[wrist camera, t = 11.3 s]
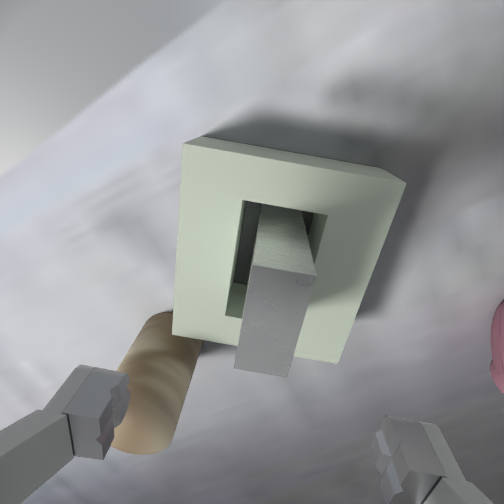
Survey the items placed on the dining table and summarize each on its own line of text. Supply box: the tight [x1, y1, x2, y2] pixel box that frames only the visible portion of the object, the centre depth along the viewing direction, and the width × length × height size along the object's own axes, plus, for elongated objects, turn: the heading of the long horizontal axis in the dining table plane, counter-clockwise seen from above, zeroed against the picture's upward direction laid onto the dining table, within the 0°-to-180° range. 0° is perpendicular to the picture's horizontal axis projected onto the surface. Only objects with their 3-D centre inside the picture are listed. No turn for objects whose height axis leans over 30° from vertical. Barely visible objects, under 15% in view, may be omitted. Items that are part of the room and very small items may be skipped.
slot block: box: [172, 136, 407, 364], centre depth 19 cm, size 11×12×4 cm
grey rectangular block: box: [234, 203, 317, 377], centre depth 17 cm, size 2×6×9 cm, turn 171°
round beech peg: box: [110, 312, 203, 455], centre depth 22 cm, size 5×5×8 cm
